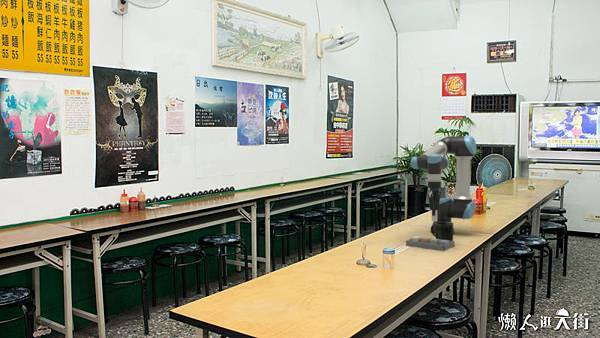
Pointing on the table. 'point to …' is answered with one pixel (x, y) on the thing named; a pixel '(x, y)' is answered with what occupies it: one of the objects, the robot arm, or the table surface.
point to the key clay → (425, 239)
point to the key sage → (434, 241)
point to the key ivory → (416, 238)
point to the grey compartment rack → (430, 245)
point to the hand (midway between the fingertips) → (434, 221)
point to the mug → (443, 230)
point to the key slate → (443, 242)
